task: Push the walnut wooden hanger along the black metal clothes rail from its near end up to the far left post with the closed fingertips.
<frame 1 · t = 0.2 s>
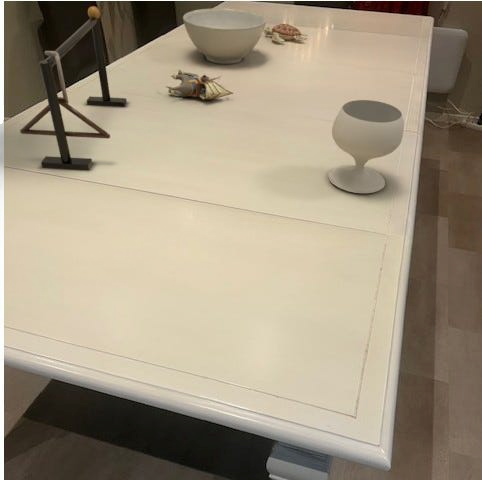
hanger: (57, 95, 96), point 14 cm above the table, slide at 0.0 cm
decorative bowl: (224, 58, 164), on the table
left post: (107, 103, 130), on the table
rail: (107, 103, 130), on the table
decorative turtle: (284, 39, 185), on the table
chalice: (356, 181, 104), on the table
figurine: (202, 97, 137), on the table
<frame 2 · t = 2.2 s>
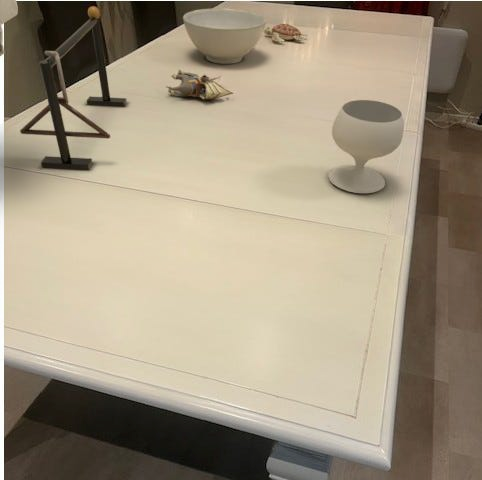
nothing on the table moved.
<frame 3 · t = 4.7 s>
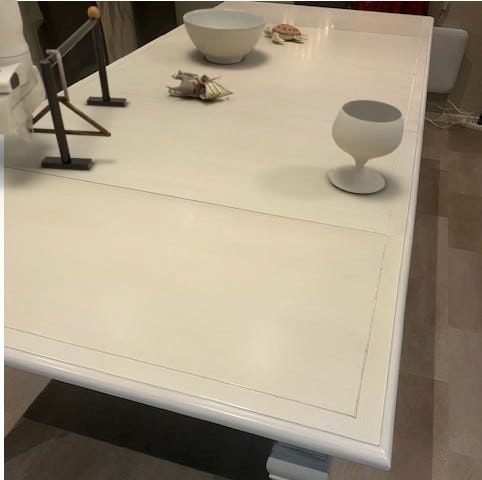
hand: (28, 138, 101), 5 cm above the table, tool pointing down, fingers closed
hanger: (58, 94, 97), point 14 cm above the table, slide at 0.8 cm, touching gripper
everything else where it was.
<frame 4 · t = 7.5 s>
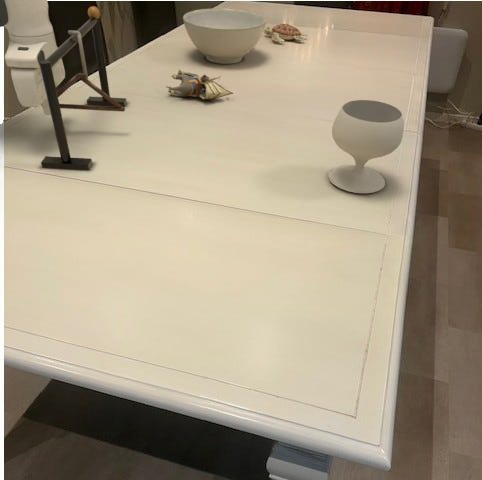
hand: (50, 112, 111), 5 cm above the table, tool pointing down, fingers closed
hanger: (78, 72, 107), point 14 cm above the table, slide at 14.9 cm, touching gripper
everything else where it was.
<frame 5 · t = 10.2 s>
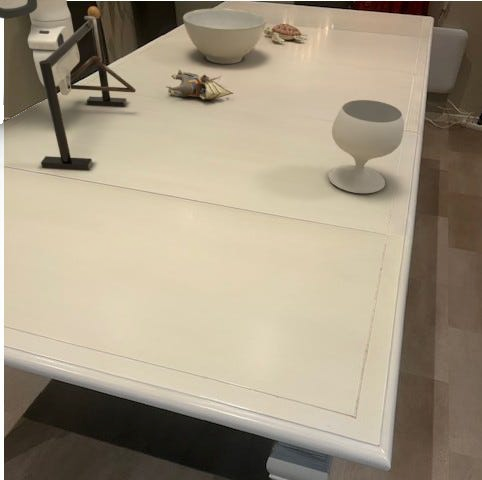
hand: (66, 93, 120), 5 cm above the table, tool pointing down, fingers closed
hanger: (92, 55, 117), point 14 cm above the table, slide at 27.6 cm, touching gripper
everything else where it was.
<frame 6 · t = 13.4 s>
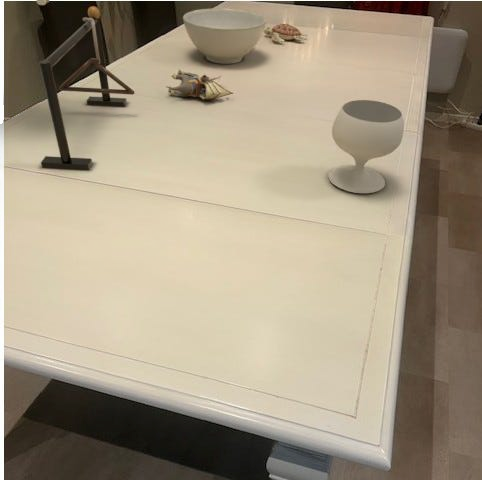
hand: (43, 3, 105), 25 cm above the table, tool pointing down, fingers closed
hanger: (91, 56, 115), point 14 cm above the table, slide at 26.1 cm
everything else where it was.
at the end: hanger slide at 26.1 cm; hanger 7.4 cm from the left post (horizontally) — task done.
